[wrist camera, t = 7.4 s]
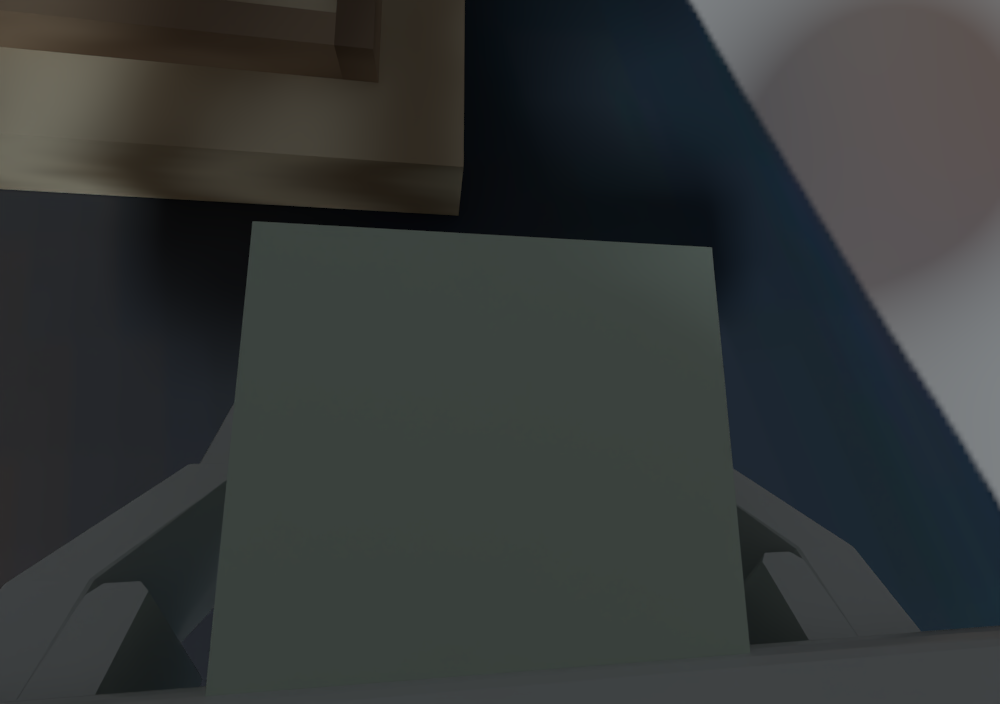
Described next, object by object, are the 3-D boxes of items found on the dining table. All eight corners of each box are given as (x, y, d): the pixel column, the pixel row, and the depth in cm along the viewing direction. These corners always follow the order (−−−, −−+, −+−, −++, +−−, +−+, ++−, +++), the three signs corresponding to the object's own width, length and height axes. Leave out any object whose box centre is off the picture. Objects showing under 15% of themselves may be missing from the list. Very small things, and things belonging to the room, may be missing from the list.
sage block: (371, 530, 13) (194, 797, 3) (378, 372, 14) (252, 220, 4) (527, 524, 14) (757, 736, 4) (524, 374, 15) (711, 247, 5)
